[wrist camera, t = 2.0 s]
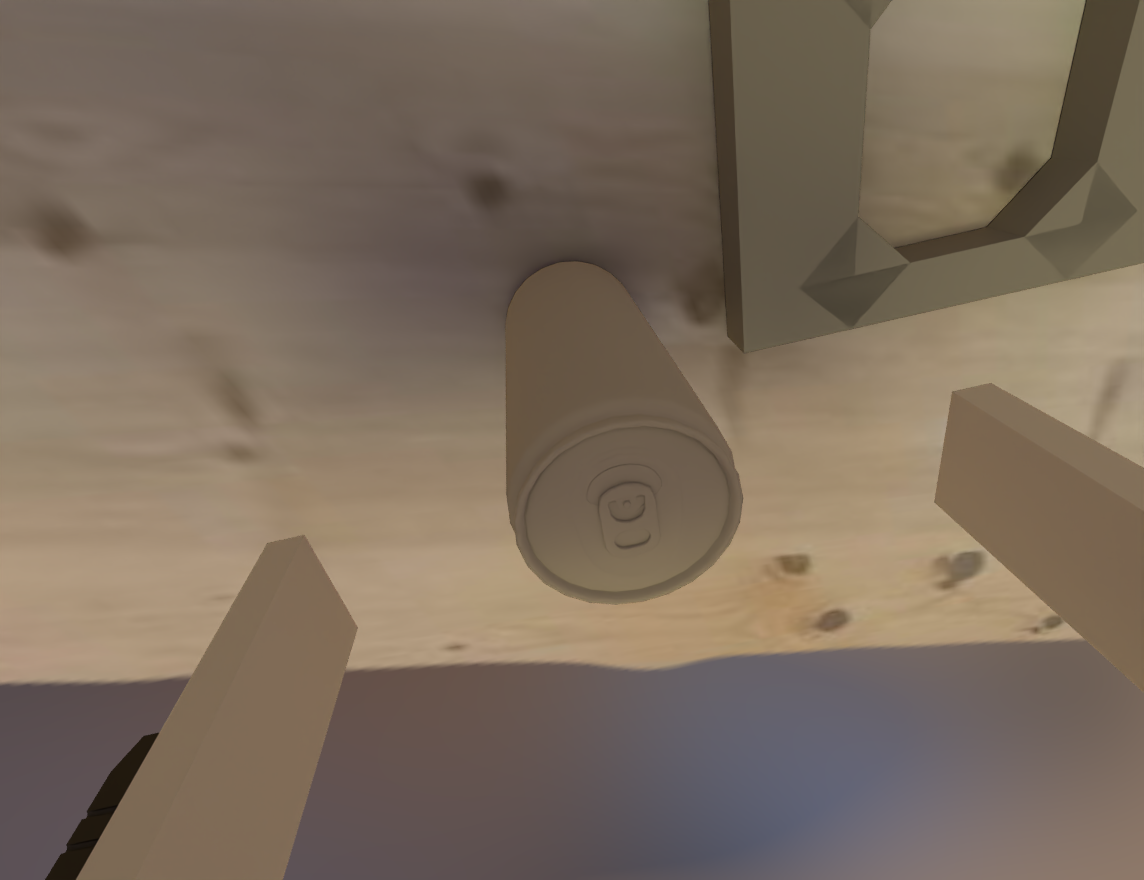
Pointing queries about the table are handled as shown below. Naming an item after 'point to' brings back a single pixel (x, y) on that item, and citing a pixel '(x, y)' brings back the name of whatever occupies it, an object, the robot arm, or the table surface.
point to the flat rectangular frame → (833, 175)
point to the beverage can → (608, 446)
